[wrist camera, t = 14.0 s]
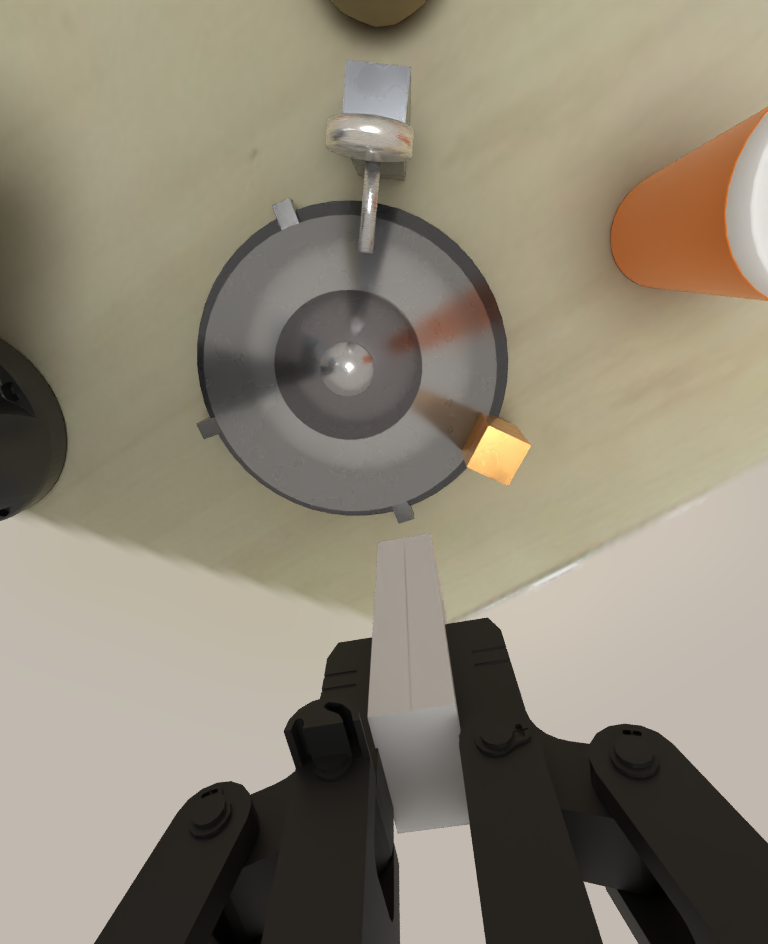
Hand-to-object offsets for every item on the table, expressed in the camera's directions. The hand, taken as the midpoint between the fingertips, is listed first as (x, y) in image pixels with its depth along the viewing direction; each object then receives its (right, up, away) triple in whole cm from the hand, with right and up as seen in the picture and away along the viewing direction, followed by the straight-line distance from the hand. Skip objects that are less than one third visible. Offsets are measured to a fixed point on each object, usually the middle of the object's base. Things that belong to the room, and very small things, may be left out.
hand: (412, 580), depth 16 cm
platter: (-2, +10, +23) cm, 25 cm away
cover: (-3, +11, +21) cm, 24 cm away
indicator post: (-1, +21, +20) cm, 29 cm away
